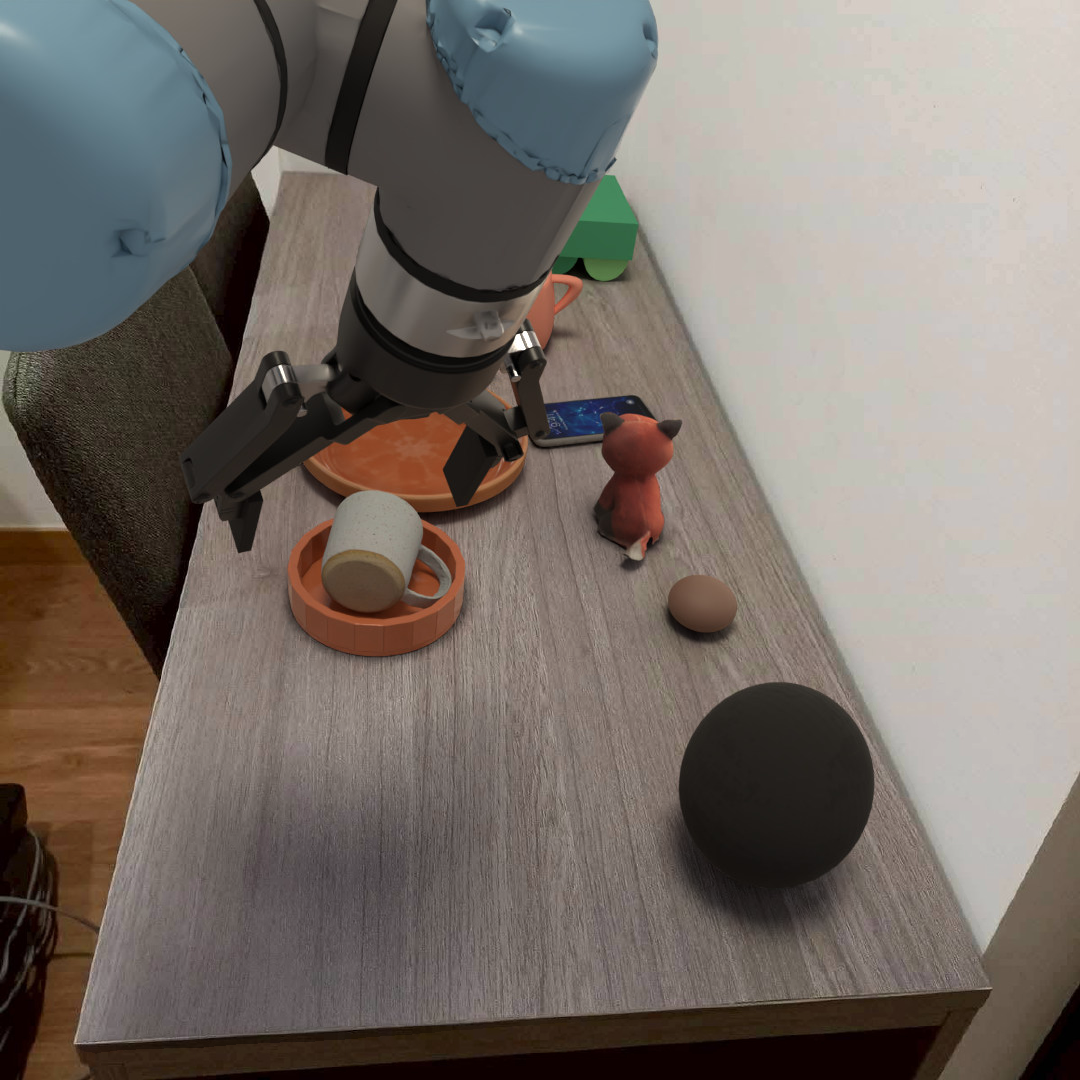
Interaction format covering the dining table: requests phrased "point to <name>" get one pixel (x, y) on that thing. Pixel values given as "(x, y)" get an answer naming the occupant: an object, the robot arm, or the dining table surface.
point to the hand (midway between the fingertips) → (351, 508)
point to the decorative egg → (776, 785)
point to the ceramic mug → (377, 554)
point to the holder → (374, 630)
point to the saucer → (407, 463)
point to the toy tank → (602, 234)
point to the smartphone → (587, 418)
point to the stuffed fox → (634, 479)
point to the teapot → (551, 305)
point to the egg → (702, 603)
